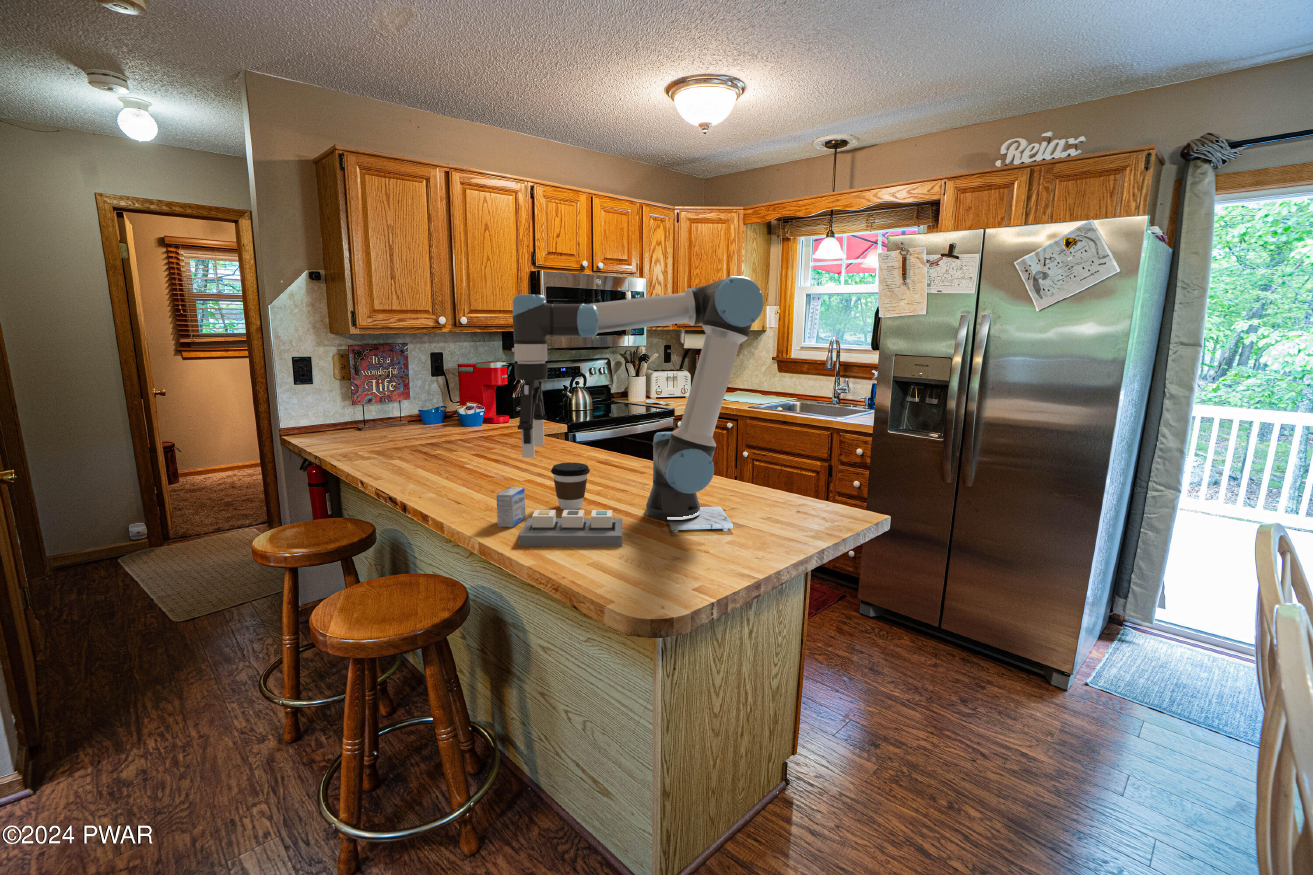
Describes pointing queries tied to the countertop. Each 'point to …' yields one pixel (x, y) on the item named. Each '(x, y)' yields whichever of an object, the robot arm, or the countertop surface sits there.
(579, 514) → the key
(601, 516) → the key
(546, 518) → the key
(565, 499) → the coffee cup
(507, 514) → the medicine box
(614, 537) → the keypad board
